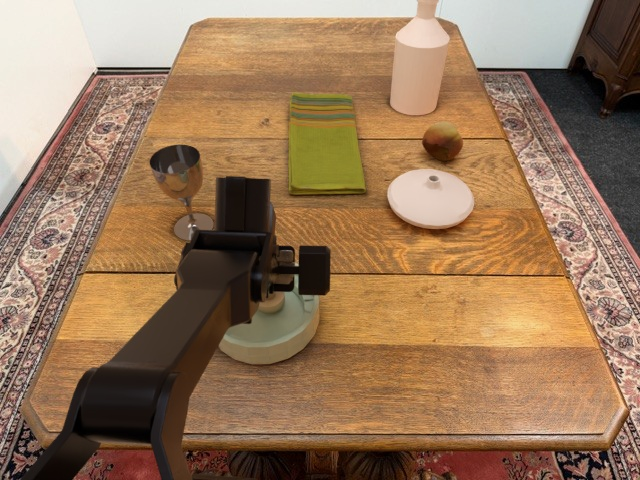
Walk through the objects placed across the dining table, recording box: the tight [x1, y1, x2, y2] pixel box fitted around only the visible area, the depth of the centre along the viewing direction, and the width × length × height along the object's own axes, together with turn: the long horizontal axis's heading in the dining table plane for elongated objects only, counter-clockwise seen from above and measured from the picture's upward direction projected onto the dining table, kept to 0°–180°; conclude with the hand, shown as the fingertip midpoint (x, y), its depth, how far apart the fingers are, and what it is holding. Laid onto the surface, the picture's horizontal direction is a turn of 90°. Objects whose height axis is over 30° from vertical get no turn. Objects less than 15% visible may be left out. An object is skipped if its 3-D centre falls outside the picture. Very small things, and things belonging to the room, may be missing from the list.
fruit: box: [421, 120, 464, 162], centre depth 97 cm, size 8×8×8 cm
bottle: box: [389, 0, 451, 116], centre depth 107 cm, size 12×12×25 cm
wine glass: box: [149, 144, 215, 241], centre depth 81 cm, size 8×8×15 cm
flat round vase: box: [386, 168, 475, 230], centre depth 86 cm, size 16×16×7 cm
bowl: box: [218, 261, 320, 365], centre depth 70 cm, size 16×16×5 cm
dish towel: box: [288, 92, 367, 195], centre depth 103 cm, size 15×36×3 cm, turn 2°
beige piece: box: [258, 292, 285, 313], centre depth 67 cm, size 5×5×13 cm
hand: (266, 265), depth 68 cm, fingers closed on beige piece, 2 cm apart
